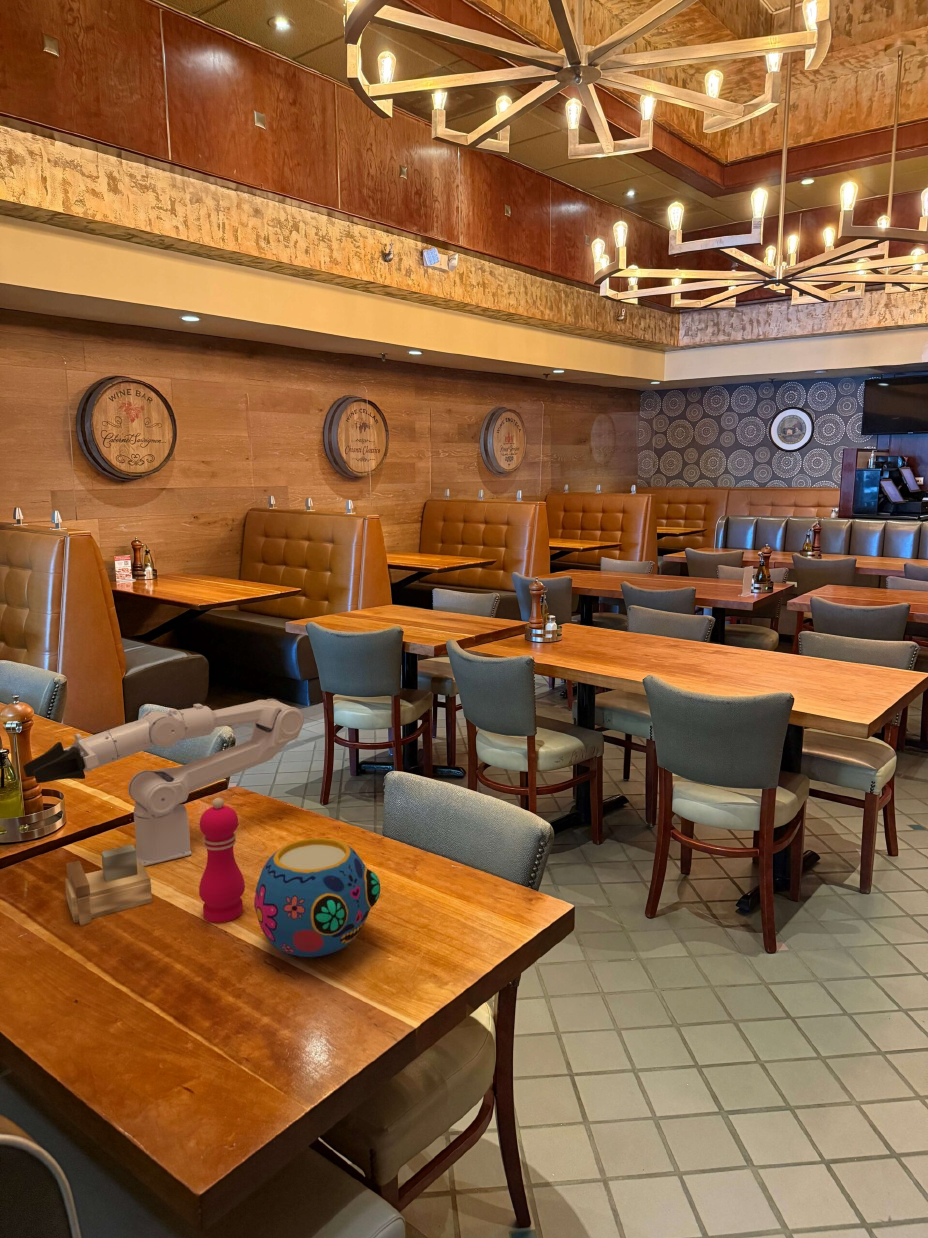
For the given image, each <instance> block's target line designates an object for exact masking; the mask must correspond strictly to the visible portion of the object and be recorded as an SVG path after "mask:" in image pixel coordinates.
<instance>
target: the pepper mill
mask: <svg viewBox="0 0 928 1238" xmlns="http://www.w3.org/2000/svg"><path fill="white" fill-rule="evenodd" d="M224 802H225V801H224V799H223V798H221V797H215V798H214V799H213V800H212V804H211V805H212V806H211V807H209V808H207V809H206V810H204V812H203V813H202V815H201V816H200V818H199V819H200V820H199V829H200V832H201V834H202V835H204V837H203V846H204V848H205V849H206V851H207V854H206V855H207V859H206V861H207V862H206V865H205V869H204V871H203V874H202V876H201V878H200V881H199V887H198V895H199V898H200V899H201V901H202V902H203V905H202V912H203V913H202V915H203V918H204V919H205V920H206V921H208V922H211V923H215V924H216V923H217V924H221V923H228V922H231V921H233V920H235V919H237V918H239V917H240V916H241V915H242V913H243V912H244V911H243V910H244V906H243V905H244V904H243V899H242V896H243V895H244V893H245V889H246V884H245V879H244V876H243V873H242V871H241V869H240V867H239V866H238V864H237V861H236V859H235V853H234V846H235V845H236V843H237V839H236V836H237V834H236V833H235V831H236V830H237V828H238V826H239V817H238V813H237V812H236V810H235V809H234V808H232V807H231V806H228V805H225V803H224Z"/></svg>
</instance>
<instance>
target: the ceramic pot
mask: <svg viewBox="0 0 928 1238" xmlns="http://www.w3.org/2000/svg"><path fill="white" fill-rule="evenodd" d="M380 882H381V881H380V879H379V877H378V875H377V874H376V873H375V872H374V871H372V870H371V869H369V868H368V867H367V866H366V865H365V863H364V862H363V860H362V859H361V857H360V856H359V855H358V853H357V852H356V851H355V849H353V848H352V847H350V846H349V845H347V844H346V843H344V842H342V841H341V840H336V839H333V838H325V837H315V838H314V837H313V838H312V837H311V838H305V839H299V840H296V841H292V842H290V843H287V844H286V845H283V846H281V847H280V848H279V849H277V850H276V851H275V852H274V853H273V854H272V855H271V856H270V857H269V858H268V860H267V861H266V862H265V864H264V865H263V868H262V870H261V871H260V875H259V878H258V881H257V884H256V888H255V894H254V899H253V900H254V905H253V906H254V910H255V914H256V917H257V920H258V924H259V927H260V930H261V932H262V933H263V935H264V936H265V937H266V938H267V940H268V941H269V942H270V943H271V944H272V946H273V947H275V948H276V949H278V950H280V951H281V952H282V953H285V954H286V955H287V954H288V955H292V956H295V957H296V956H297V957H302V958H315V957H322V956H327V955H331V954H332V953H336V952H338V951H340V950H342V949H343V948H345V947H346V946H348V945H349V944H351V943H352V942H353V941H354V940H355V939H356V938H357V936H358V935H359V933H360V932H361V930H363V929H362V928H363V926H364V925H365V923H366V921H367V918H368V917H369V913H370V911H371V910H372V908H373V907H374V906H375V905H376V904H377V902H378V899H379V898H380V895H381V883H380Z"/></svg>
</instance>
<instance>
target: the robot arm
mask: <svg viewBox="0 0 928 1238" xmlns="http://www.w3.org/2000/svg"><path fill="white" fill-rule="evenodd" d="M192 706H193V707H189V708H184V709H178V710H177V709H176V708H169V710H168V712H167V713H165V712H162V711H158V710H155V711H152V710H148V711H146V712H145V713H144V714H143V715H141V717H140V718H139V719H138V720H135V721H132V722H127V723H125V724H122V725H119V726H116V727H113V728H111V729H110V728H109V729H107V730H104V731H101V732H99V733H95V734H93V735H90V736H87V737H84V738H83V737H82V734H80V733H75V734H74V741H73V743H72V744H71V745H70V746H68V747H65V748H64V747H63V743H62V742H61V741H58V742H56V743H55V744H53V746H51V748H49V749H48V750H47V751H46V752H44V753H43V754H41V755H40V756H39V755H38V757H36V758H34V759H32V760H30V761H28V762H27V763H25V764H24V765H22V768H23V771H24V774H25V777H26V778H32V777H33V778H34V779H35V782H36V784H43V783H49V782H54V781H61V780H71V779H74V780H75V779H76V780H84V779H86V774H87V773H89V772H92V771H93V770H95V769H98V768H101V767H103V766H105V765H108V764H111V763H114V762H116V761H120V760H121V759H122V760H123V759H124V758H127V757H131V756H133V755H135V754H138V753H141V752H143V751H147V750H149V749H152V748H155V746H158V747H162V748H170V747H173V746H174V745H175V744H177V743H178V742H179V741H183V740H184V741H185V740H189V739H195V738H199V737H205V736H210V735H211V734H212V733H213V732H214V731H215V729H216V728H221V727H228V726H229V727H230V726H235V725H244V724H250V723H253V730H252V735H251V736H252V737H251V738H250V739H249V740H247V741H244V742H242V743H239V744H236V745H234V746H231V747H228V748H227V749H223V750H220V751H218V752H216V753H213V754H210V755H207V756H205V757H202V758H198V759H197V760H194V761H192V762H189V763H187V764H183V765H180V766H178V767H162V768H159V769H157V770H152V769H145V770H141V771H139V772H137V773H135V774H134V775H133V776H132V777H131V779H130V780H129V783H128V786H127V792H128V796H129V797H130V798H131V799H132V800H133V801H134V803H135V804H134V808H133V822H134V833H135V834H134V835H135V837H134V838H135V847H134V848H135V849H136V858H137V861H141V863H142V865H143V867H145V866H150V865H154V864H159V863H163V862H166V861H171V860H174V859H179V858H183V857H187V856H190V855H192V850H191V838H190V837H191V836H190V821H189V815H188V811H187V808H186V806H185V804H182V803H184V802H185V803H186V802H187V800H188V798H189V796H190V795H189V794H190V793H192V792H194V791H197V790H199V789H201V788H205V787H206V786H209V785H211V784H214V783H217V782H219V781H222V780H224V779H226V778H229V777H232V776H234V775H236V774H239V773H242V772H244V771H247V770H249V769H251V768H254V767H256V766H259V765H261V764H264V763H267V762H268V761H270V760H273V758H274V757H276V755H277V754H279V753H280V751H281V750H282V749H283V748H284V747H286V746H287V745H288V743H290V742H291V741H294V740H297V739H298V738H299V736H300V733H301V732H302V731H301V730H302V729H303V726H304V723H305V722H304V719H305V718H304V715H303V712H302V711H301V710H300V709H299V708H298V707H294V706H290V705H288V704H285V703H283V702H281V701H279V700H278V699H275V698H267V699H257V700H255V701H250V702H247V703H242V704H237V705H232V706H229V707H223V708H220V709H214V710H212V709H211V708H210V707H209V706H207V705H203V704H201V703H194V704H193V705H192ZM85 773H86V774H85Z"/></svg>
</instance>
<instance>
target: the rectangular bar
mask: <svg viewBox="0 0 928 1238" xmlns="http://www.w3.org/2000/svg"><path fill="white" fill-rule="evenodd" d="M65 865H66V874H67V876H68V877H67V878H69V880H70V882H71V885H72V887H73V890H74V893H75V895H76V898H80V897H84V896H88V895H90V885H89V882H88V880H87V878H86V875H85V874H86V873H85V870H84V868H83V866H82V864H81V861H80V860H76V861H75V860H74V861H71V862H67V863H65Z"/></svg>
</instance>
